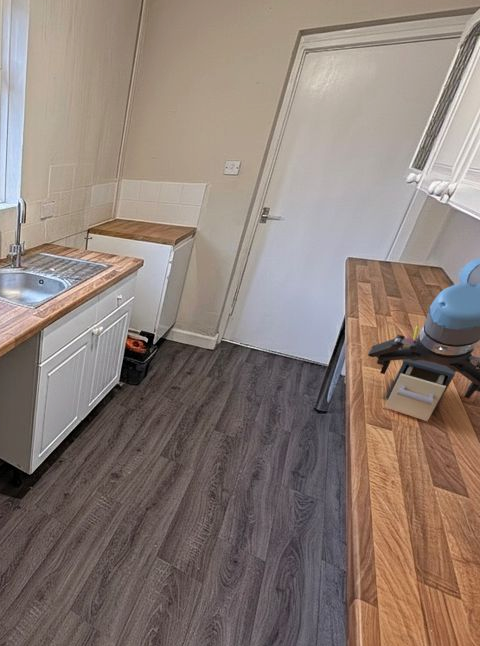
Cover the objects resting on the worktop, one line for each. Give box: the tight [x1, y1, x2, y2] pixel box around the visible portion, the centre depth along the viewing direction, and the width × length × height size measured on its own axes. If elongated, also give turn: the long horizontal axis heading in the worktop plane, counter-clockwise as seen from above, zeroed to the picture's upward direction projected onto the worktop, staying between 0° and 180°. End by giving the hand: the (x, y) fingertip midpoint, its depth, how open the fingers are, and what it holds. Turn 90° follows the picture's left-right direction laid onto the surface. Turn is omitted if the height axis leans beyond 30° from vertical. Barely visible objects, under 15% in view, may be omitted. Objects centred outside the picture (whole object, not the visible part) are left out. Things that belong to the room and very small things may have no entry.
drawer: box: [384, 366, 446, 422], centre depth 105 cm, size 18×8×10 cm, turn 129°
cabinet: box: [386, 359, 457, 414], centre depth 112 cm, size 15×9×12 cm, turn 129°
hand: (424, 380), depth 95 cm, fingers open, 13 cm apart
